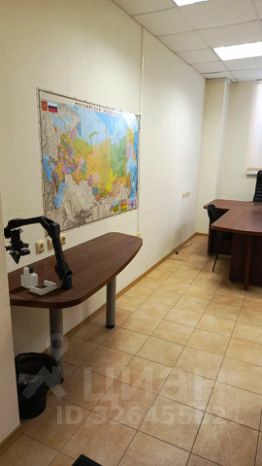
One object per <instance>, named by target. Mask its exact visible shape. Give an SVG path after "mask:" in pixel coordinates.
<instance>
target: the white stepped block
mask: <svg viewBox="0 0 262 466" xmlns="http://www.w3.org/2000/svg"><path fill="white" fill-rule="evenodd" d="M38 279H39V278H38V274H37V273H35V267H34V266H32V265H27V266H24V267H23V274H21V275H20V282H21V283H20V284H21V287H24V288H25V289H29V290H30V286H33V287H37V286H39V280H38Z"/></svg>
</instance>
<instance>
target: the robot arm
mask: <svg viewBox="0 0 262 466" xmlns="http://www.w3.org/2000/svg"><path fill="white" fill-rule="evenodd" d="M35 224H40V225H41V227H42V228H43V229H44V230H46V232H47V235H48V237H49V238H50V239H51V243H52V248H53V253H54V256H55V261H56V264H55V265H54V266H53V268H54V273H56V276H57V277H58V279H59V282H60V283H59V284H60V286H59V287H58V288H59V289H61V290H64V291H69V290H70V289H71V290H72V289H73V288H74V285H73V278H72V277H73V275H74V271H72V269H70V266H69V263H68V262H67V261H66V259H65V256H64V251H63V247H62V241H61V237H60V236H61V225H60V223H59V222H57V221H54V220H53V219H50V218H49V217H47V216H46V215H44V214H43V215H39V216H33V217H28V218H21V217H19V218H18V217H16V218H13V219H9V220H8V221H7V225H6V226H5V227H4V236H5V239H4V240H9V239H10V240H9V242H8V243H9V244H10V245H6V246H5V245H4V247H5V248H6V252H5V253H7V252H8V251H9V253H8V254H9V255H10V256H11V258H12V259H13V261H14V263H15V265H18V264H19V263H20V260H21V257H25V256H28V255H31V250H30V249H29V246H30V243H27V242H24V241H23V240H21V234H22V233H23V232H24V230H23V229H22V228H20V227H23V226H28V225H35Z"/></svg>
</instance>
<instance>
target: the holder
mask: <svg viewBox="0 0 262 466" xmlns="http://www.w3.org/2000/svg"><path fill="white" fill-rule="evenodd" d="M43 284H44V286H45V287H43V288H38V287H37V286H35V287H33V286H30V288H29V292H31V293H33V294H38V295H40V296H43V295H45V294H47V293H50V292H52V291H54V290H55V289H57V282H53V281H49V280H45V279H44V280H43Z"/></svg>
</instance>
